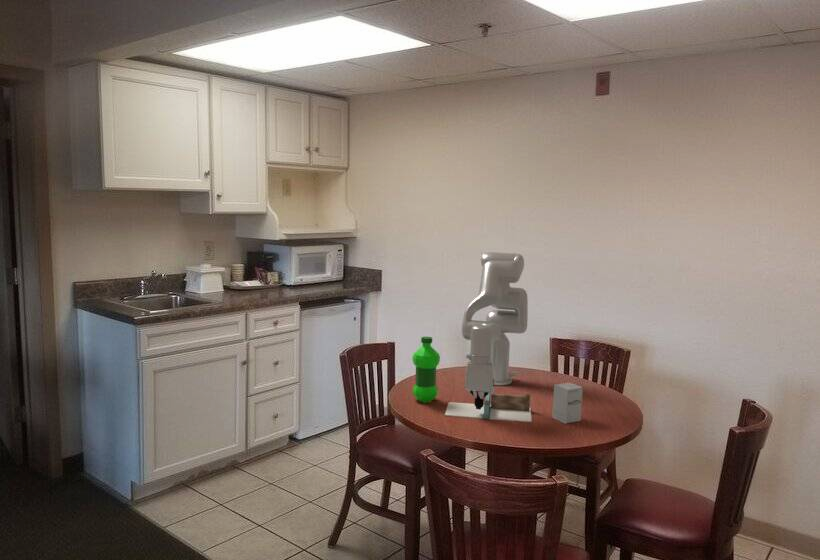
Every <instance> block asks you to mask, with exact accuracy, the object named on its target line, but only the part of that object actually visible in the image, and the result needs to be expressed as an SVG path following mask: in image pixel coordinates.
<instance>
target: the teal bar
mask: <svg viewBox="0 0 820 560" xmlns="http://www.w3.org/2000/svg"><path fill="white" fill-rule="evenodd" d="M484 402H485V403H484V418H489V407H490V405H491V395H487V396H485V401H484Z"/></svg>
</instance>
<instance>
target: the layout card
mask: <svg viewBox="0 0 820 560" xmlns="http://www.w3.org/2000/svg"><path fill="white" fill-rule="evenodd" d="M531 410H532V409H531V407H530V408H529V411H525V410H514V409H500V408H491V404H490V407H489V418H484V405H483V407H482V408H481V409H480V410H479V409H476V406H475V403H467V402H456V401H455V402H454V401H449V402H448V403H447V407H446V410H445V413H444V417H454V418H455V417H456V418H467V417H468V418H469V419H482V420H494V421H509V422H524V423H533V422H532V411H531Z"/></svg>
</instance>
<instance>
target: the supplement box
mask: <svg viewBox="0 0 820 560" xmlns="http://www.w3.org/2000/svg"><path fill="white" fill-rule="evenodd" d="M583 390H584V388H583V386H581V385H577V384H575V383H571V382H564V383H563V382H562V383H556V384H553V400H552V415H551V418H552V419H555V420H557V421H558V422H561V423H563V424H570V423H576V422H581V420H582V409H583V408H582V406H583V404H582V403H583Z"/></svg>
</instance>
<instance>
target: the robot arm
mask: <svg viewBox="0 0 820 560" xmlns="http://www.w3.org/2000/svg"><path fill="white" fill-rule="evenodd" d="M480 264H481V267H482V269H481V276H480V282H479V283H480V284H479V291H478V295H477V296H476V297H475V298H474V299H473V300H471V302H469V304H468V305H467V307H466V308H465V310H464V314H463V318H462V319H463V320H462V324H461V335H462V337H463V339H465V341H470V351H469V352H470V353H469V354H466V357H465V358H466V359H468V360H469V361H468V362H467V365H466V369H465V378H464V391H465V392H466V393H470V394H471V395H472V396H473V399H474V404H475V406H476V409H479V410H480V409H481V408H482V407H483V405H484V404H485V403H484V402H485V401H484V399H485V398H486V396H487V395H490V396H491V395H492V394H495V386H507V385H508V386H509V385H510V384H512V382H513V380H512V378H511V377H517V376H518V371H515V370H514V371H510V348H511V347H510V346H511V345H510V344H511V342H510V340H509V338H508V336H507V335H506V334H505V333H507V334H524V333H525V332H527V329H528V320H529V319H528V314H529V311H528V309H529V307H528V305H529V304H528V301H529V299H528V293H527V290H525V289H524V288H523V287H522V288H521V287H512V286H511V285H510V284H511V283H512V284H516V283H518V282H519V281H520V278H521V276H522V273H523V271H524V267H525V259H524V256H523V255H522V254H519V253H516V252H515V253H511V252H491V251H490V252H485V253H482V255H481V256H480ZM489 306H491V307H492V308H493V309H494V310H491V311H489V312H488V313H487V315H486V320H485V321H484V320H473V319H472V318H473V316H474V314H476V313H477V312H478V311H480V310H482V309H484V308H487V307H489ZM479 392H480V395H479Z"/></svg>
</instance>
